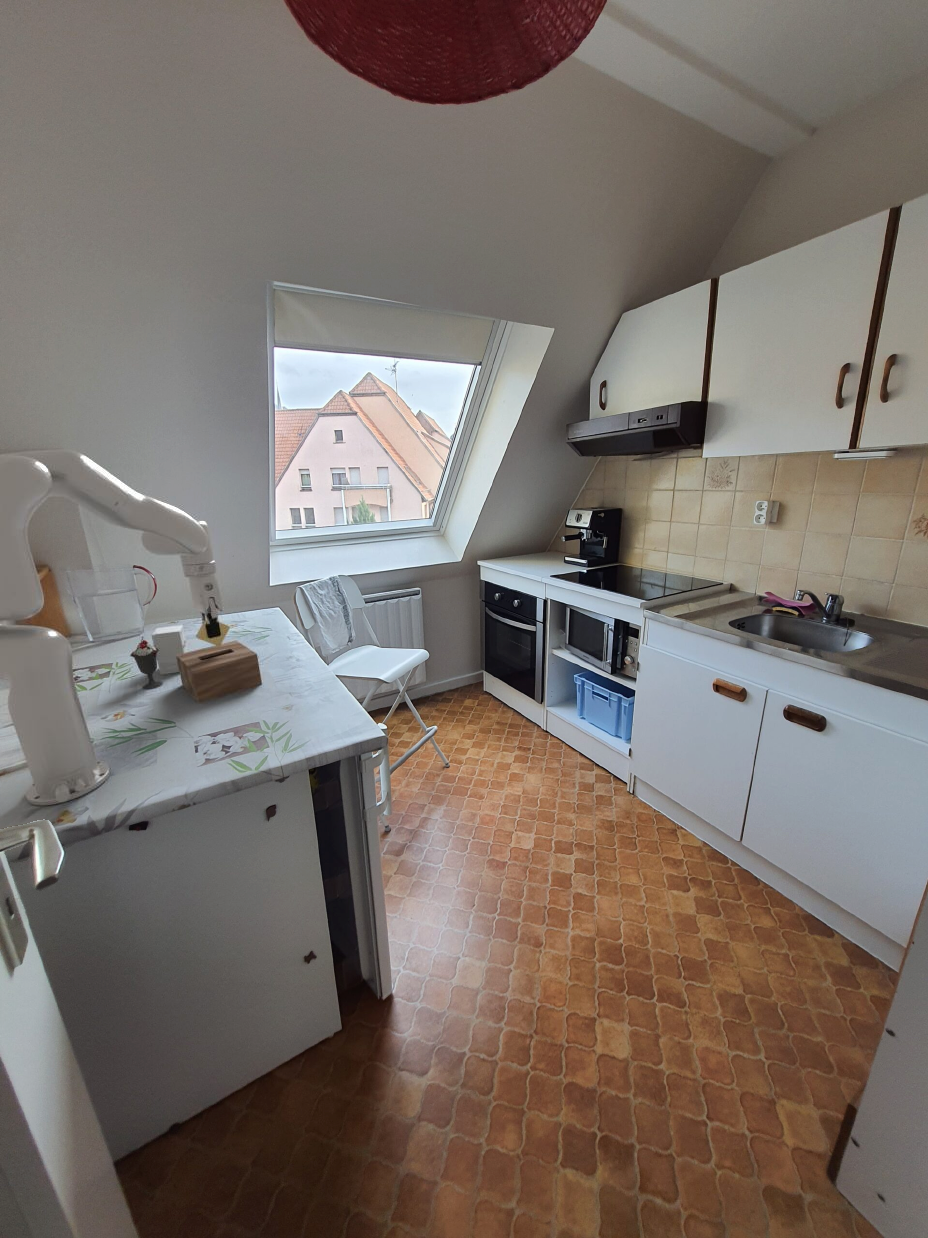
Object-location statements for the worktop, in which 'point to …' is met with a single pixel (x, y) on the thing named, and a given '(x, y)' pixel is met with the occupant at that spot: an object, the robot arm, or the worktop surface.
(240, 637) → the worktop surface
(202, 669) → the brown slotted wooden box
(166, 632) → the supplement box
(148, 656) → the sundae
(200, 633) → the tan rectangular block
